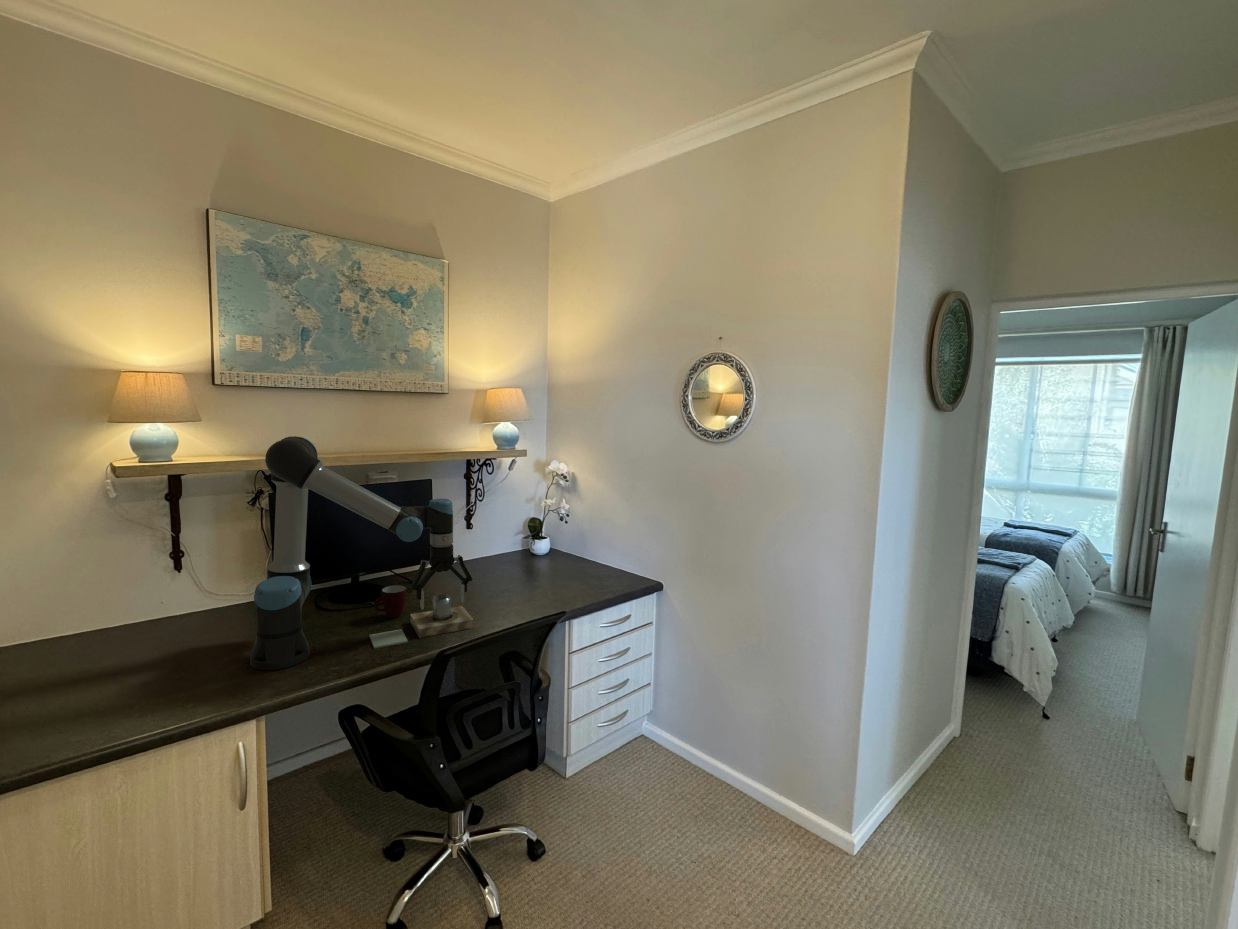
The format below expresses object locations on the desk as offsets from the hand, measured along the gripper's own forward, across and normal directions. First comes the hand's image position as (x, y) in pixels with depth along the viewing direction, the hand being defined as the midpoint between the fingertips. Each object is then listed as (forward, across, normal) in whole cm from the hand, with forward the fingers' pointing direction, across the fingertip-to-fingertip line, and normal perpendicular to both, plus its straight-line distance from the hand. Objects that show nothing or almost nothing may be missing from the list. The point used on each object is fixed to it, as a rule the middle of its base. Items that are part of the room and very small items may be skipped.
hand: (442, 604), depth 198 cm
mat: (+7, -18, -4) cm, 20 cm away
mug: (+7, -14, +15) cm, 22 cm away
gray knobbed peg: (+7, 0, 0) cm, 7 cm away
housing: (+7, 0, 0) cm, 7 cm away
